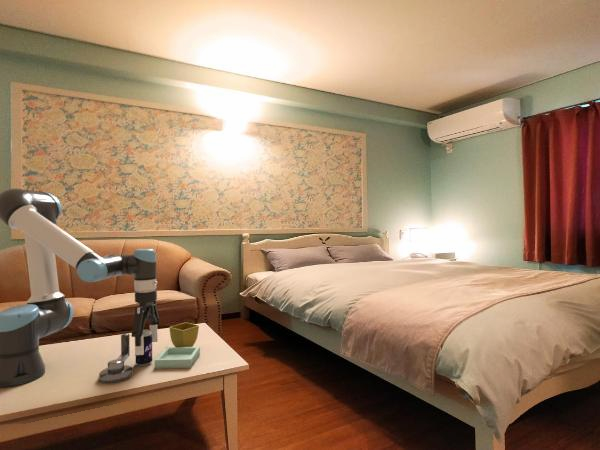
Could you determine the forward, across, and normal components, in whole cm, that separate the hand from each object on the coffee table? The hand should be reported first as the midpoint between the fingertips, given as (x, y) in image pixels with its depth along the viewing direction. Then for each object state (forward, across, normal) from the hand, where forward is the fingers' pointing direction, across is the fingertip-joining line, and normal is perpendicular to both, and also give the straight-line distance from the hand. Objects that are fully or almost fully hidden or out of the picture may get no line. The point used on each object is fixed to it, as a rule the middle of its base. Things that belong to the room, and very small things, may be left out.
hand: (147, 347), depth 130 cm
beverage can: (+6, 0, +1) cm, 6 cm away
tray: (+6, +2, -11) cm, 13 cm away
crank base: (+6, -11, +6) cm, 14 cm away
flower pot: (+6, +17, -9) cm, 20 cm away
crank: (+4, -6, +7) cm, 10 cm away
